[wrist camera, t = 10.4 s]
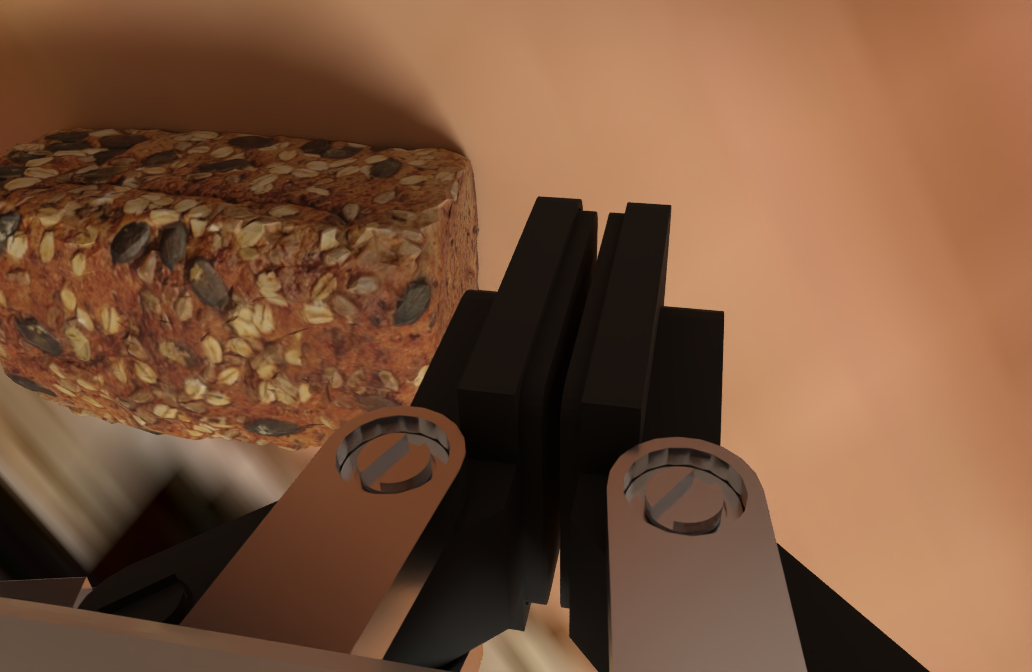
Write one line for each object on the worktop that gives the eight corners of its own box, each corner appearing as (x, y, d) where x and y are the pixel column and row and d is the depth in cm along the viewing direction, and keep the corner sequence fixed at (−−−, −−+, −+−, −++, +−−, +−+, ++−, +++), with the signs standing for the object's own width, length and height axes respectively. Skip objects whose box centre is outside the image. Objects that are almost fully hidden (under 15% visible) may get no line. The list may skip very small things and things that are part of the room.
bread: (484, 132, 34) (421, 263, 26) (489, 349, 41) (440, 508, 33) (49, 104, 37) (-129, 216, 29) (117, 313, 43) (-14, 452, 35)
